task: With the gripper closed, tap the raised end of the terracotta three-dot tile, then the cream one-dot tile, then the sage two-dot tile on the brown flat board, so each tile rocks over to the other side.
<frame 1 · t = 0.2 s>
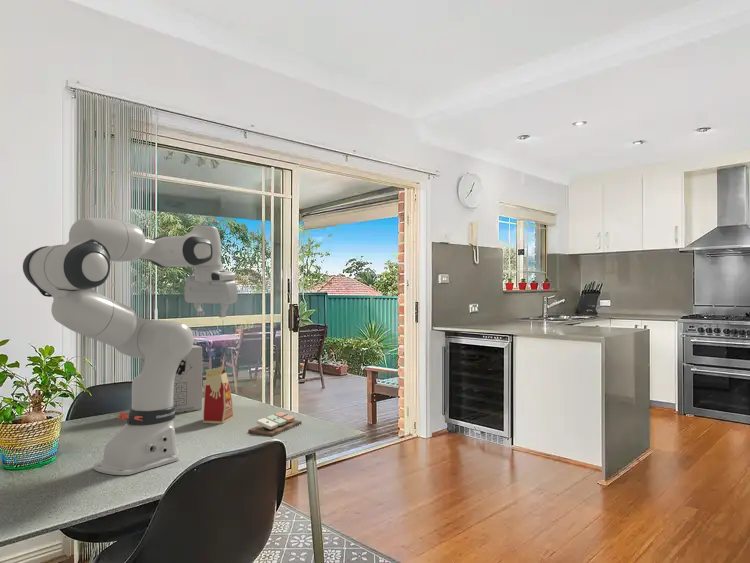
hand: (211, 316, 171), 39 cm above the table, tool pointing down, fingers open, 8 cm apart
cereal box: (171, 411, 204), on the table
one-dot tile: (267, 423, 175), point 3 cm above the table, hinge at 14.0°
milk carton: (216, 420, 190), on the table
two-dot tile: (276, 420, 179), point 3 cm above the table, hinge at 14.0°
brown flat board: (275, 428, 179), on the table
three-dot tile: (284, 416, 184), point 3 cm above the table, hinge at 14.0°
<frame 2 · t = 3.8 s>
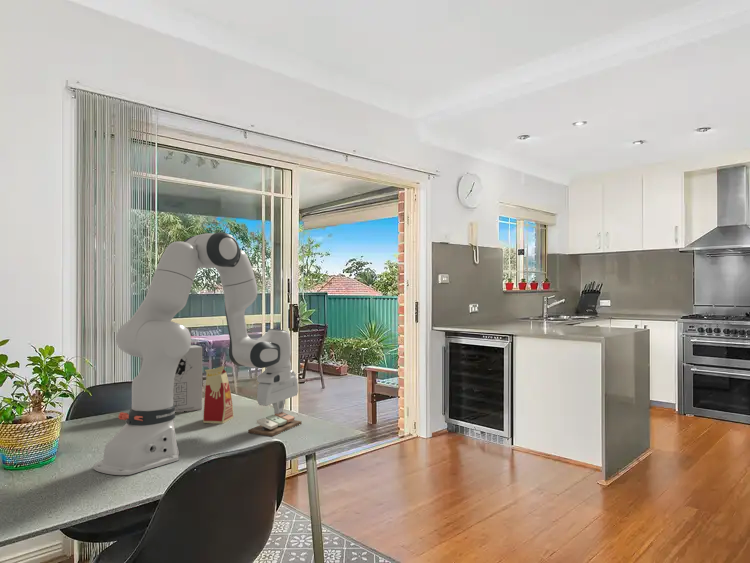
hand: (278, 413, 185), 4 cm above the table, tool pointing down, fingers closed, pressing on three-dot tile
three-dot tile: (284, 416, 184), point 3 cm above the table, hinge at 13.8°, touching gripper
everything else where it was.
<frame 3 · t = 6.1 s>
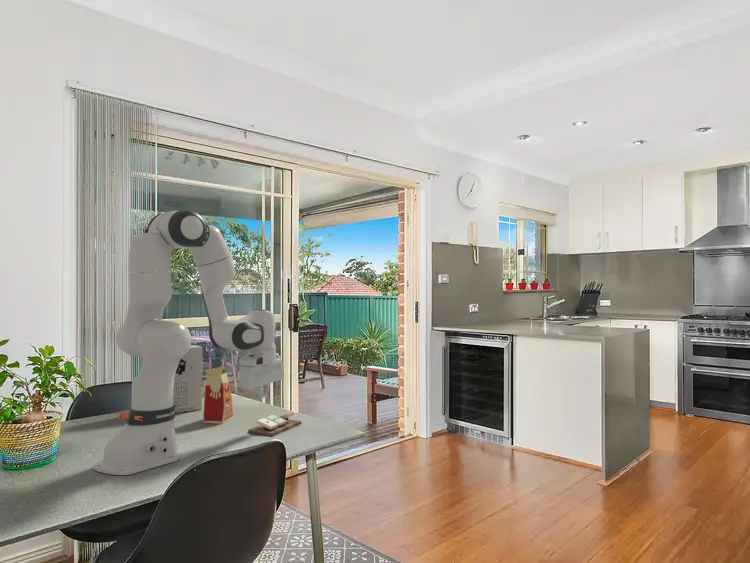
hand: (263, 397, 176), 11 cm above the table, tool pointing down, fingers closed
three-dot tile: (283, 416, 184), point 3 cm above the table, hinge at -17.9°
everything else where it was.
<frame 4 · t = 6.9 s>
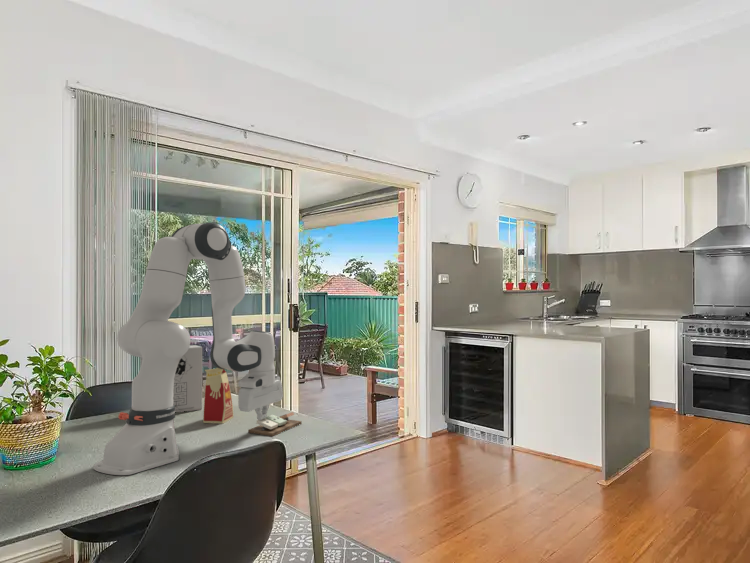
hand: (261, 419, 176), 4 cm above the table, tool pointing down, fingers closed, pressing on one-dot tile
one-dot tile: (267, 423, 175), point 3 cm above the table, hinge at 14.0°, touching gripper
three-dot tile: (283, 416, 184), point 3 cm above the table, hinge at -21.6°
everything else where it was.
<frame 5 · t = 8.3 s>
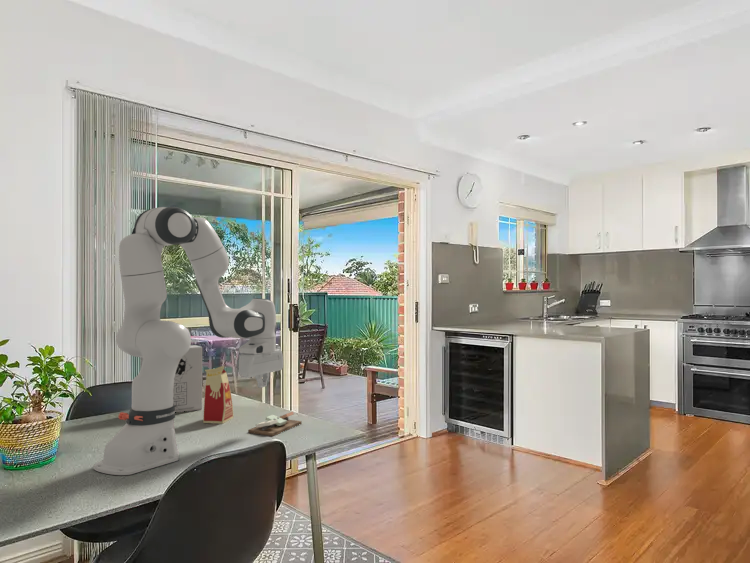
hand: (262, 387, 176), 15 cm above the table, tool pointing down, fingers closed
one-dot tile: (266, 423, 175), point 3 cm above the table, hinge at -14.1°
three-dot tile: (283, 416, 184), point 3 cm above the table, hinge at -25.3°
everything else where it was.
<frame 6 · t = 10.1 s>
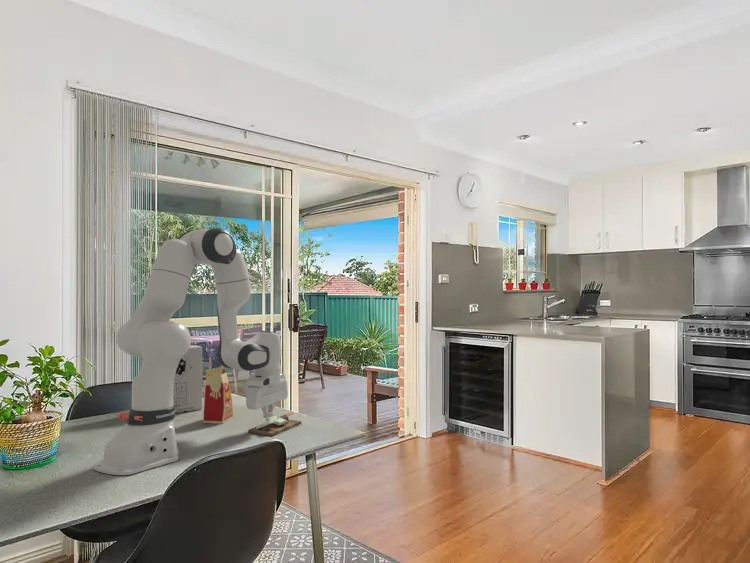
hand: (267, 417, 181), 3 cm above the table, tool pointing down, fingers closed, pressing on two-dot tile
one-dot tile: (266, 423, 175), point 3 cm above the table, hinge at -25.1°
two-dot tile: (276, 419, 179), point 3 cm above the table, hinge at 10.7°, touching gripper
three-dot tile: (283, 416, 184), point 3 cm above the table, hinge at -26.7°, touching brown flat board
everything else where it was.
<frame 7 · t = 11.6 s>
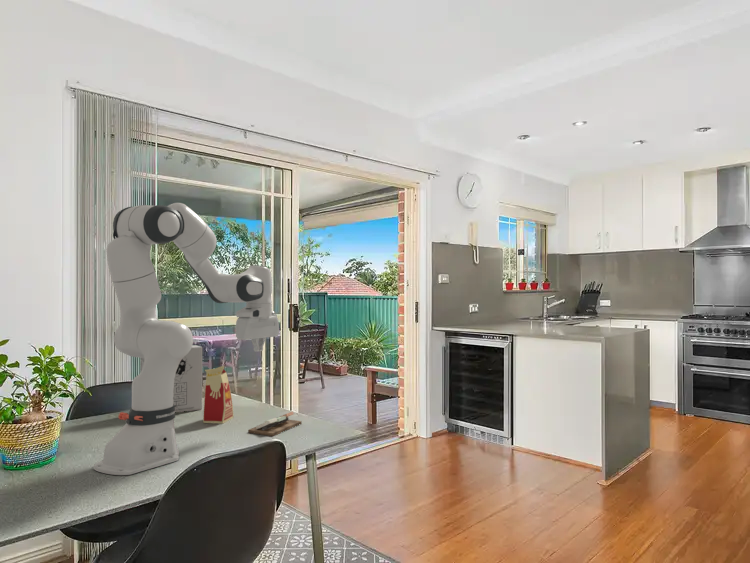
hand: (258, 351, 183), 26 cm above the table, tool pointing down, fingers closed
one-dot tile: (266, 423, 175), point 3 cm above the table, hinge at -25.8°, touching brown flat board
two-dot tile: (275, 419, 179), point 3 cm above the table, hinge at -15.5°
three-dot tile: (283, 416, 184), point 3 cm above the table, hinge at -26.2°, touching brown flat board
everything else where it was.
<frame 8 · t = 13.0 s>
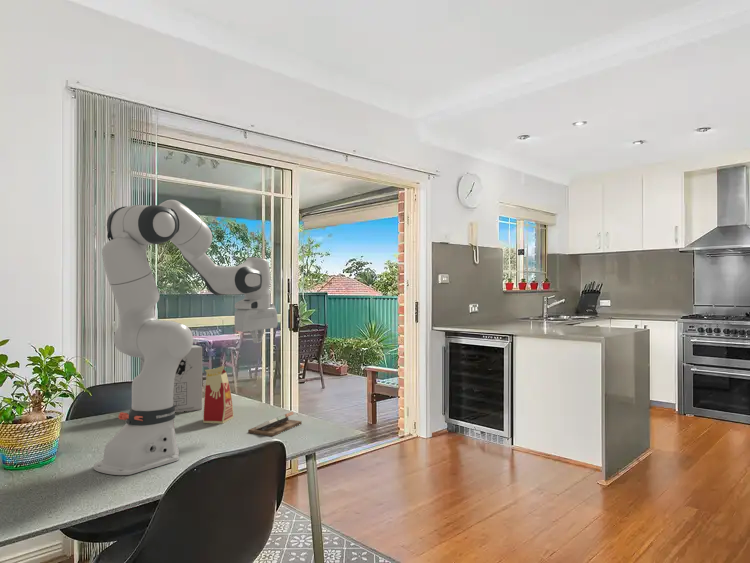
hand: (257, 342, 183), 29 cm above the table, tool pointing down, fingers closed
one-dot tile: (266, 423, 175), point 3 cm above the table, hinge at -24.7°
two-dot tile: (275, 420, 179), point 3 cm above the table, hinge at -23.7°
everything else where it was.
at the end: three-dot tile at -26° (first picture: +14°); one-dot tile at -25° (first picture: +14°); two-dot tile at -24° (first picture: +14°) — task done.
